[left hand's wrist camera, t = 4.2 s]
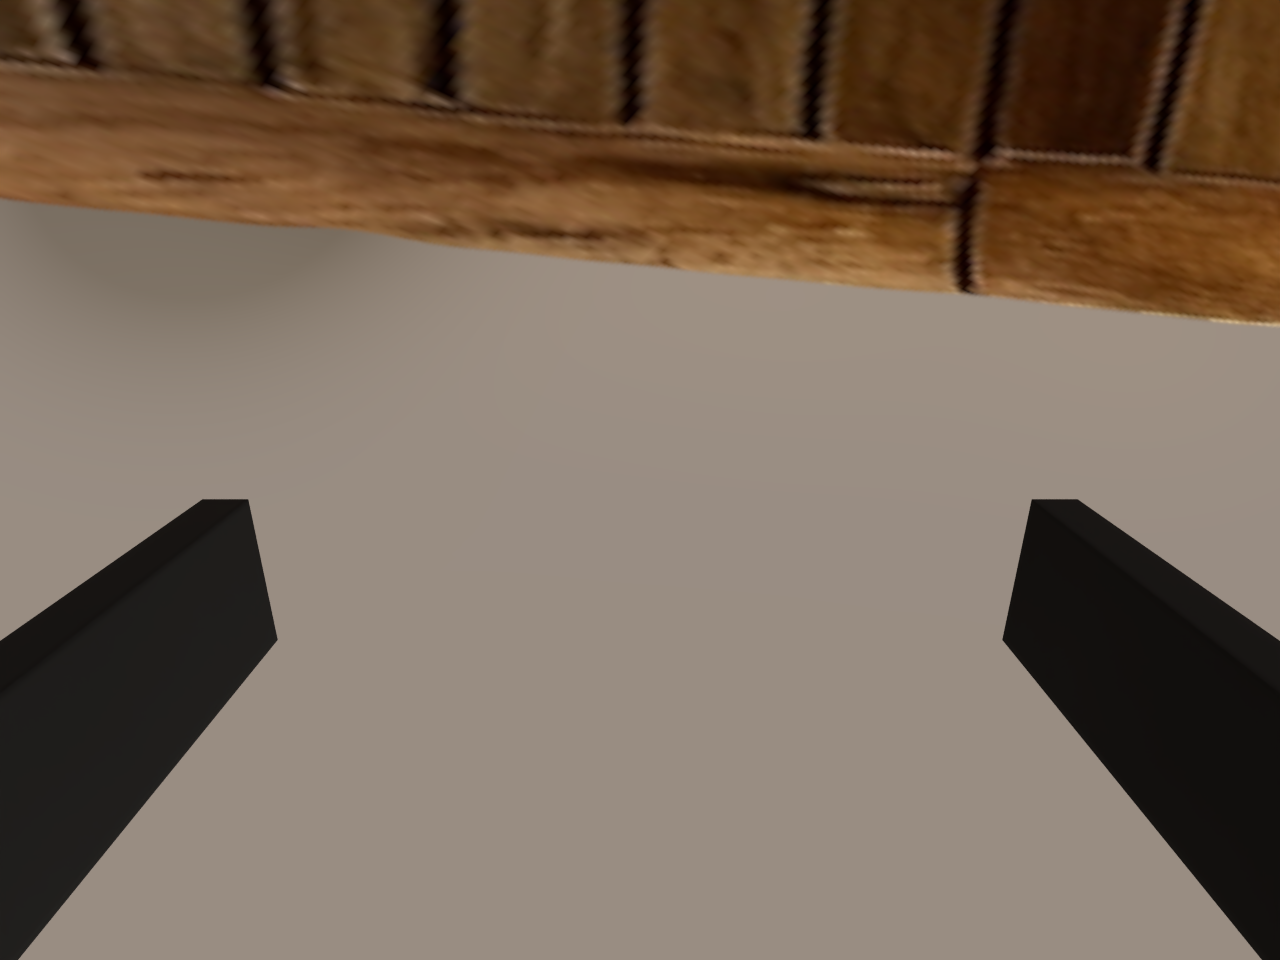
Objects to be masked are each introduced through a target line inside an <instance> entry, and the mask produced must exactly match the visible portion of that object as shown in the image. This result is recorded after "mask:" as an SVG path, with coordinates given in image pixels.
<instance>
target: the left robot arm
mask: <svg viewBox="0 0 1280 960" xmlns="http://www.w3.org/2000/svg"><path fill="white" fill-rule="evenodd" d="M276 641H277V635H276V630H275V625H274V620H273V616H272V611H271V606H270V601H269V597H268V592H267V587H266V582H265V577H264V573H263V568H262V563H261V558H260V554H259V549H258V544H257V539H256V534H255V530H254V525H253V520H252V515H251V511H250V506H249V501H248V499H203V500H201V501H200V502H198V503H197V504H195V505H194V506H192V507H191V508H189V509H188V510H187V511H185V512H184V513H182V514H181V515H180V516H178V517H177V518H175V519H174V520H172V521H171V522H169V523H168V524H167V525H165V526H164V527H162V528H161V529H160V530H158V531H157V532H155V533H154V534H152V535H151V536H150V537H148V538H147V539H145V540H144V541H142V542H141V543H139V544H138V545H137V546H135V547H134V548H132V549H131V550H129V551H128V552H127V553H125V554H124V555H122V556H121V557H120V558H118V559H117V560H115V561H114V562H112V563H111V564H109V565H108V566H107V567H105V568H104V569H102V570H101V571H100V572H98V573H97V574H95V575H94V576H92V577H91V578H89V579H88V580H87V581H85V582H84V583H82V584H81V585H79V586H78V587H77V588H75V589H74V590H72V591H71V592H69V593H68V594H67V595H65V596H64V597H62V598H61V599H59V600H58V601H57V602H55V603H54V604H52V605H51V606H49V607H48V608H47V609H45V610H44V611H42V612H41V613H40V614H38V615H37V616H35V617H34V618H32V619H31V620H30V621H28V622H27V623H25V624H24V625H22V626H21V627H19V628H18V629H17V630H15V631H14V632H12V633H11V634H9V635H8V636H7V637H5V638H4V639H2V640H1V641H0V960H18V959H19V958H20V957H21V955H22V954H23V953H24V952H25V951H26V949H27V948H28V947H29V946H30V944H31V943H32V942H33V941H34V939H35V938H36V937H37V936H38V934H39V933H40V932H41V931H42V929H43V928H44V927H45V926H46V925H47V923H48V922H49V921H50V920H51V918H52V917H53V916H54V915H55V914H56V912H57V911H58V910H59V909H60V907H61V906H62V905H63V904H64V902H65V901H66V900H67V899H68V898H69V896H70V895H71V894H72V893H73V891H74V890H75V889H76V888H77V886H78V885H79V884H80V883H81V881H82V880H83V879H84V878H85V877H86V875H87V874H88V873H89V872H90V870H91V869H92V868H93V867H94V865H95V864H96V863H97V862H98V861H99V859H100V858H101V857H102V856H103V854H104V853H105V852H106V851H107V849H108V848H109V847H110V846H111V845H112V843H113V842H114V841H115V840H116V838H117V837H118V836H119V835H120V833H121V832H122V831H123V830H124V828H125V827H126V826H127V825H128V824H129V822H130V821H131V820H132V819H133V817H134V816H135V815H136V814H137V812H138V811H139V810H140V809H141V807H142V806H143V805H144V804H145V803H146V801H147V800H148V799H149V798H150V796H151V795H152V794H153V793H154V791H155V790H156V789H157V788H158V787H159V785H160V784H161V783H162V782H163V780H164V779H165V778H166V777H167V776H168V774H169V773H170V772H171V771H172V769H173V768H174V767H175V766H176V764H177V763H178V762H179V761H180V759H181V758H182V757H183V756H184V754H185V753H186V752H187V751H188V750H189V748H190V747H191V746H192V745H193V743H194V742H195V741H196V740H197V739H198V737H199V736H200V735H201V734H202V732H203V731H204V730H205V729H206V727H207V726H208V725H209V724H210V723H211V721H212V720H213V719H214V718H215V716H216V715H217V714H218V713H219V711H220V710H221V709H222V708H223V706H224V705H225V704H226V703H227V701H228V700H229V699H230V698H231V697H232V695H233V694H234V693H235V692H236V690H237V689H238V688H239V687H240V686H241V684H242V683H243V682H244V681H245V679H246V678H247V677H248V676H249V674H250V673H251V672H252V671H253V669H254V668H255V667H256V666H257V665H258V663H259V662H260V661H261V660H262V658H263V657H264V656H265V655H266V654H267V652H268V651H269V650H270V649H271V647H272V646H273V645H274V644H275V642H276ZM1003 641H1004V642H1005V644H1006V645H1007V646H1008V647H1009V649H1010V650H1011V651H1012V652H1013V653H1014V655H1015V656H1016V657H1017V658H1018V660H1019V661H1020V662H1021V663H1022V665H1023V666H1024V667H1025V668H1026V669H1027V671H1028V672H1029V673H1030V674H1031V676H1032V677H1033V678H1034V679H1035V680H1036V682H1037V683H1038V684H1039V686H1040V687H1041V688H1042V689H1043V690H1044V692H1045V693H1046V694H1047V695H1048V697H1049V698H1050V699H1051V700H1052V702H1053V703H1054V704H1055V705H1056V706H1057V708H1058V709H1059V710H1060V711H1061V713H1062V714H1063V715H1064V716H1065V718H1066V719H1067V720H1068V721H1069V723H1070V724H1071V725H1072V726H1073V727H1074V729H1075V730H1076V731H1077V732H1078V734H1079V735H1080V736H1081V737H1082V739H1083V740H1084V741H1085V742H1086V743H1087V745H1088V746H1089V747H1090V748H1091V750H1092V751H1093V752H1094V753H1095V754H1096V756H1097V757H1098V758H1099V759H1100V761H1101V762H1102V763H1103V764H1104V766H1105V767H1106V768H1107V769H1108V771H1109V772H1110V773H1111V774H1112V776H1113V777H1114V778H1115V779H1116V780H1117V782H1118V783H1119V784H1120V785H1121V787H1122V788H1123V789H1124V790H1125V792H1126V793H1127V794H1128V795H1129V796H1130V798H1131V799H1132V800H1133V801H1134V803H1135V804H1136V805H1137V806H1138V807H1139V809H1140V810H1141V811H1142V812H1143V814H1144V815H1145V816H1146V817H1147V819H1148V820H1149V821H1150V822H1151V824H1152V825H1153V826H1154V827H1155V829H1156V830H1157V831H1158V832H1159V833H1160V835H1161V836H1162V837H1163V838H1164V840H1165V841H1166V842H1167V843H1168V845H1169V846H1170V847H1171V848H1172V849H1173V851H1174V852H1175V853H1176V854H1177V856H1178V857H1179V858H1180V859H1181V861H1182V862H1183V863H1184V864H1185V865H1186V867H1187V868H1188V869H1189V870H1190V872H1191V873H1192V874H1193V875H1194V877H1195V878H1196V879H1197V880H1198V881H1199V883H1200V884H1201V885H1202V886H1203V888H1204V889H1205V890H1206V891H1207V893H1208V894H1209V895H1210V896H1211V898H1212V899H1213V900H1214V901H1215V902H1216V904H1217V905H1218V906H1219V907H1220V909H1221V910H1222V911H1223V912H1224V913H1225V915H1226V916H1227V917H1228V918H1229V920H1230V921H1231V922H1232V923H1233V925H1234V926H1235V927H1236V928H1237V929H1238V931H1239V932H1240V933H1241V934H1242V936H1243V937H1244V938H1245V939H1246V941H1247V942H1248V943H1249V944H1250V946H1251V947H1252V948H1253V949H1254V951H1255V952H1256V953H1257V954H1258V955H1259V957H1260V958H1261V959H1262V960H1280V641H1279V640H1278V639H1276V638H1275V637H1273V636H1272V635H1271V634H1269V633H1268V632H1266V631H1265V630H1263V629H1262V628H1261V627H1259V626H1258V625H1256V624H1255V623H1253V622H1252V621H1251V620H1249V619H1248V618H1246V617H1245V616H1243V615H1242V614H1241V613H1239V612H1238V611H1236V610H1235V609H1233V608H1232V607H1231V606H1229V605H1228V604H1226V603H1225V602H1223V601H1222V600H1221V599H1219V598H1218V597H1216V596H1215V595H1213V594H1212V593H1211V592H1209V591H1208V590H1206V589H1205V588H1203V587H1202V586H1200V585H1199V584H1198V583H1196V582H1195V581H1193V580H1192V579H1191V578H1189V577H1188V576H1186V575H1185V574H1183V573H1182V572H1181V571H1179V570H1178V569H1176V568H1175V567H1173V566H1172V565H1171V564H1169V563H1168V562H1166V561H1165V560H1163V559H1162V558H1161V557H1159V556H1158V555H1156V554H1155V553H1153V552H1152V551H1151V550H1149V549H1148V548H1146V547H1145V546H1143V545H1142V544H1141V543H1139V542H1138V541H1136V540H1135V539H1133V538H1132V537H1131V536H1129V535H1128V534H1126V533H1125V532H1123V531H1122V530H1121V529H1119V528H1118V527H1116V526H1115V525H1113V524H1112V523H1111V522H1109V521H1108V520H1106V519H1105V518H1103V517H1102V516H1100V515H1099V514H1098V513H1096V512H1095V511H1093V510H1092V509H1091V508H1089V507H1088V506H1086V505H1085V504H1083V503H1082V502H1081V501H1079V500H1077V499H1032V501H1031V506H1030V511H1029V515H1028V520H1027V525H1026V530H1025V534H1024V539H1023V544H1022V549H1021V554H1020V558H1019V563H1018V568H1017V573H1016V577H1015V582H1014V587H1013V592H1012V597H1011V601H1010V606H1009V611H1008V616H1007V620H1006V625H1005V630H1004V635H1003Z"/></svg>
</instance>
